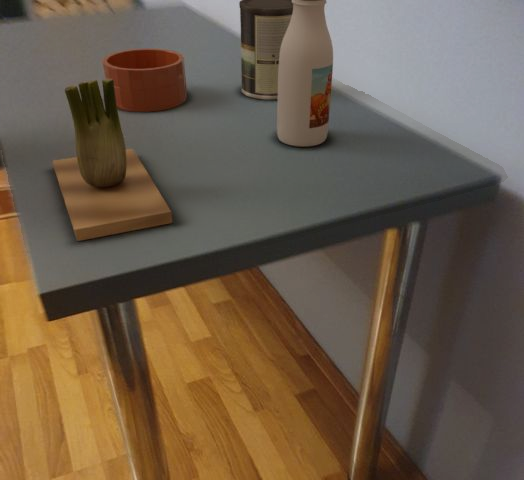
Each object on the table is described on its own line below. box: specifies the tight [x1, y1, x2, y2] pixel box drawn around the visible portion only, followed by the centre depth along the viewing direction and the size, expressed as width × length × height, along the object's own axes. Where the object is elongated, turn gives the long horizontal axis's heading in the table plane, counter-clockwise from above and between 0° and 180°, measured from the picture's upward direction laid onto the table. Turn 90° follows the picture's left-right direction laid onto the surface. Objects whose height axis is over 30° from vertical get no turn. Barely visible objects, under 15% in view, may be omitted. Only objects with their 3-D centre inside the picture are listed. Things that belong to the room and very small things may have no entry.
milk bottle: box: [276, 0, 334, 147], centre depth 77 cm, size 8×8×20 cm
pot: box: [102, 48, 188, 113], centre depth 95 cm, size 14×14×6 cm
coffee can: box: [238, 0, 293, 101], centre depth 96 cm, size 10×10×14 cm
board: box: [51, 148, 174, 242], centre depth 69 cm, size 20×11×2 cm, turn 23°
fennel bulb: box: [64, 79, 127, 187], centre depth 64 cm, size 6×5×12 cm
